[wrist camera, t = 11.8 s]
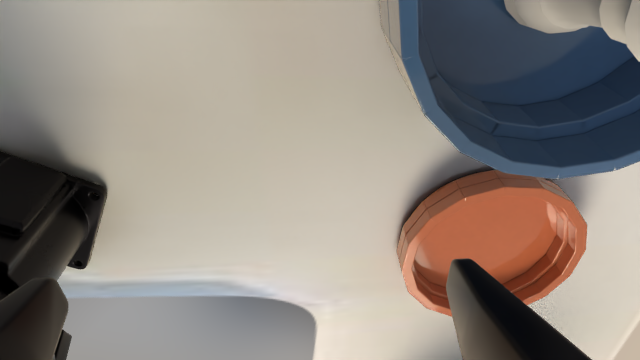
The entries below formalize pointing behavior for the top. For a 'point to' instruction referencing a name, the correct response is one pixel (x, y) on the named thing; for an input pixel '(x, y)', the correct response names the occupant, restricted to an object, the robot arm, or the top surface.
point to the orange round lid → (492, 236)
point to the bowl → (518, 87)
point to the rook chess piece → (582, 17)
